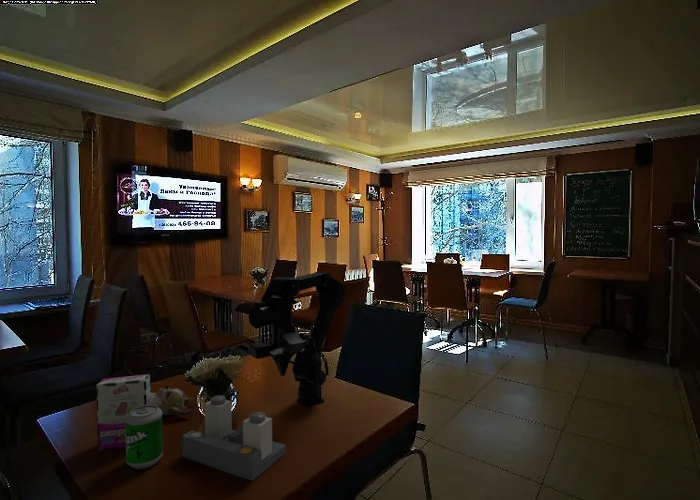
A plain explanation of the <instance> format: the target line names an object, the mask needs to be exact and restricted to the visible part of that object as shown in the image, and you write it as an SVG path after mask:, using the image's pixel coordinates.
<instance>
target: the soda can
mask: <svg viewBox="0 0 700 500" xmlns="http://www.w3.org/2000/svg"><path fill="white" fill-rule="evenodd" d="M125 426H126V447H125V457H126V458H125V459H126V460H125V463H126V464H127V466H130V467H131V468H133V469H135V470H142V469H146V468H149V467H152V466H154V465H155V464H156V463H158V462H159V460H160V459H161V458H162V456H164V455H163V454H164V448H163V447H164V446H163V445H164V444H163V442H164V441H163V439H164V438H163V436H164V435H163V414H162V410H161V409H159V408H158V407H157V406H155V405H145V406H140V407H137V408H135V409H133V410H131V411H130V413H129V414H128V415H127V416H126V419H125Z"/></svg>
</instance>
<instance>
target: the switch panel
mask: <svg viewBox="0 0 700 500" xmlns="http://www.w3.org/2000/svg"><path fill="white" fill-rule="evenodd" d="M181 439H182V440H181V447H182V451H181V452H182V453H181V454H182V457H183V458H186V459H188V460H191V461H194V462H196V463H200V464H202V465H205V466H208V467H211V468H214V469H217V470H220V471H222V472H224V473H225V472H226V473H227V474H231V475H233V476H237V477H240V478H242V479H246V480H248V481H251V482H254V481H255V480H256V479H257V478H258V477H259V476H260V475H261V474H263V473H264V472H265V471H266V470H268V469H269V468H270V467H271V466H272V465H273V464H275V463H276V462H277V461H279V459H281V458H282V457H283V456H285V455H286V453H287V452H286V451H287V449H286V448H287V445H286V444H285V443H280V442H277V441H274V440H272V453H271V454H270V455H269V456H267V457H266V458H265V459H264V460H262V459H261V451H259V450H256V449H253V448H251V447H246V446H243V425H242V426H241V427H239V428H237V429H232V432H231V433H230V434H228V435H227V436H225V437H224V438H222V439H220V438H216V437H213V436H210V435H206V434H205V433H203V432H201V431H196V430H192V429H191V430H190V431H188V432H187V433H184V434H183V435H182V437H181Z"/></svg>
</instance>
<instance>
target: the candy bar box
mask: <svg viewBox="0 0 700 500" xmlns="http://www.w3.org/2000/svg"><path fill="white" fill-rule="evenodd" d="M95 387H96V388H95V391H96V418H97V419H96V420H97V423H96V424H97V450H98V451H99V452H100V451H109V450H116V449H122V448H126V426H125V419H126V416H127V415H128V414H129V413H130V411H131V410H133V409H135V408H137V407H140V406H145V405H151V395H150V392H151V375H150V374H149V373H148V374H138V375H129V376H128V375H126V376H117V377H108V378H102V379H101V380H100V381H99V382H98V383H97V384H96V385H95Z"/></svg>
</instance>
